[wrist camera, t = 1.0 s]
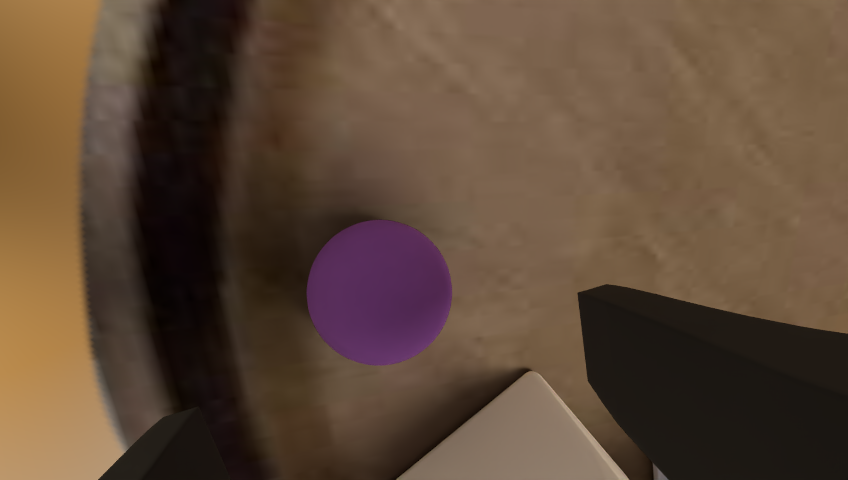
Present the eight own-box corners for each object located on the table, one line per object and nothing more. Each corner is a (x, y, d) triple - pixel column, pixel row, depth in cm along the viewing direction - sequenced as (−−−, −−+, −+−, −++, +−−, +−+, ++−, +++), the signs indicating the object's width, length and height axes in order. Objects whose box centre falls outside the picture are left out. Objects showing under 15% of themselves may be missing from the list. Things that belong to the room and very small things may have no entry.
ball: (444, 305, 17) (482, 368, 13) (327, 339, 16) (331, 415, 12) (419, 191, 15) (453, 224, 11) (291, 224, 15) (282, 270, 11)
